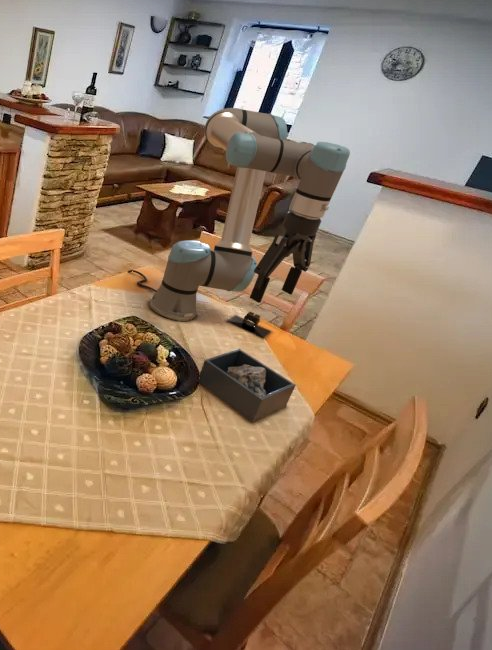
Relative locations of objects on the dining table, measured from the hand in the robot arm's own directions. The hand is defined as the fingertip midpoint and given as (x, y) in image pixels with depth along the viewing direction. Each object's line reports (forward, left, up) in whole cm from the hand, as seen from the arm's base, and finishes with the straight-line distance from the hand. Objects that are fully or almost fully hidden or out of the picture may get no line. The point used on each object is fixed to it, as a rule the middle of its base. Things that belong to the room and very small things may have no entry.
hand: (271, 296), depth 125 cm
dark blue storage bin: (+5, -6, -25) cm, 26 cm away
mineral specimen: (+5, -5, -24) cm, 25 cm away
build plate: (-18, +29, -25) cm, 42 cm away
